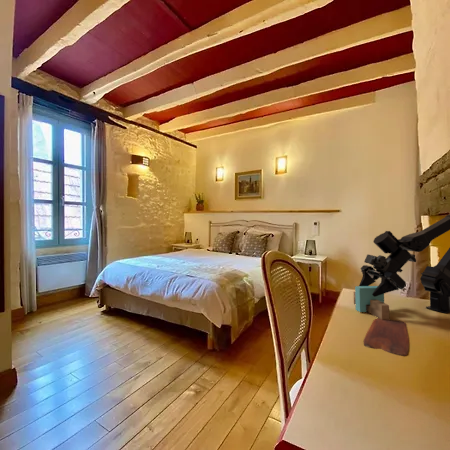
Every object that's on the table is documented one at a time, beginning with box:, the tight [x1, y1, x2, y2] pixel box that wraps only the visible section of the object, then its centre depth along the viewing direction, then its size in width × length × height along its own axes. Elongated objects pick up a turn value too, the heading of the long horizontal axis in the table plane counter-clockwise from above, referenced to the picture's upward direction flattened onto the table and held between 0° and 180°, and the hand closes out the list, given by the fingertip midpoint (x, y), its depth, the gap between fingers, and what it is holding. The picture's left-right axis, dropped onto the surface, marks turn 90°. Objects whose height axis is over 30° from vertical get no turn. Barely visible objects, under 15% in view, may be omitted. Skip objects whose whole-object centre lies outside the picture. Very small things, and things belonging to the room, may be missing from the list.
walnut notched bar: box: [353, 291, 390, 320], centre depth 93 cm, size 18×2×5 cm, turn 1°
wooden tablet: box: [363, 317, 410, 357], centre depth 74 cm, size 27×10×2 cm, turn 143°
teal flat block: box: [354, 285, 385, 313], centre depth 93 cm, size 9×3×9 cm, turn 91°
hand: (365, 292), depth 93 cm, fingers open, 9 cm apart
